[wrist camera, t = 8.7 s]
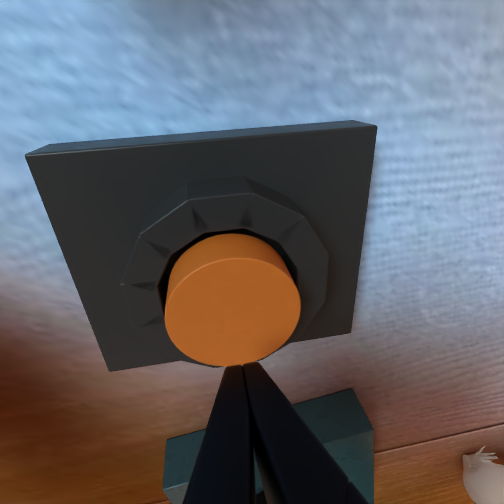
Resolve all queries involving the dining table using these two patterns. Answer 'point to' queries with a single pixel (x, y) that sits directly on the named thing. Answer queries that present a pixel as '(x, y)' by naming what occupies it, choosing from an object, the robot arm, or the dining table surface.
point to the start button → (230, 301)
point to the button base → (206, 221)
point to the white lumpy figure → (483, 478)
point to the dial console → (323, 426)
